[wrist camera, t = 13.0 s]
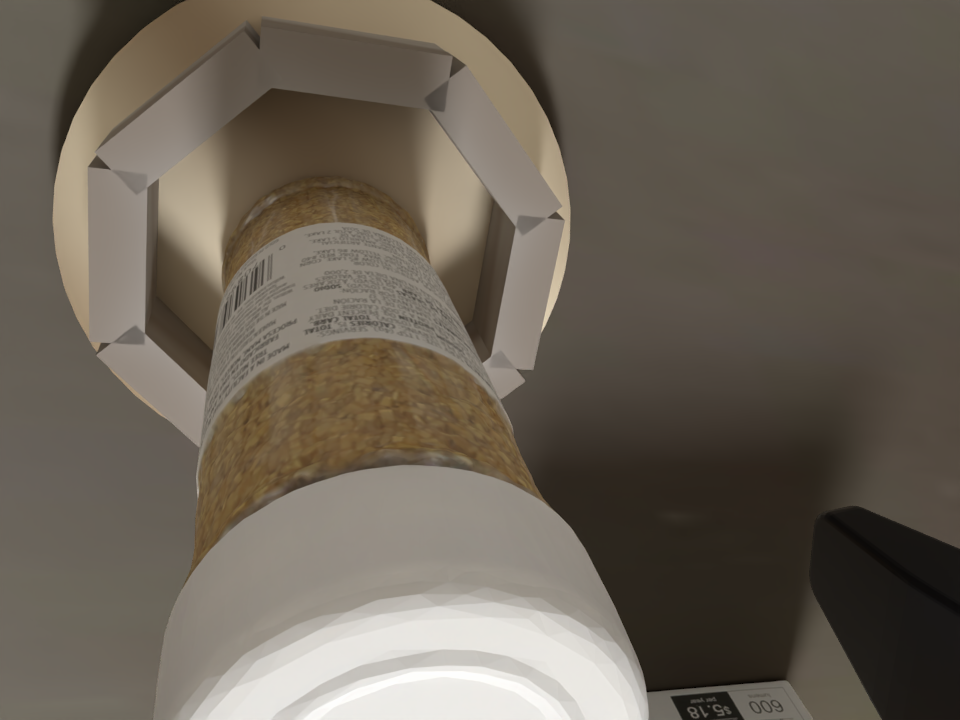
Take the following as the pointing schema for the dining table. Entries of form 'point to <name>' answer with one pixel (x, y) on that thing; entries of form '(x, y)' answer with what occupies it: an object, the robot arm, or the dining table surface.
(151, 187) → the collar socket
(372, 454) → the sprinkles bottle
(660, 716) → the light bulb box
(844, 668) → the dining table surface
